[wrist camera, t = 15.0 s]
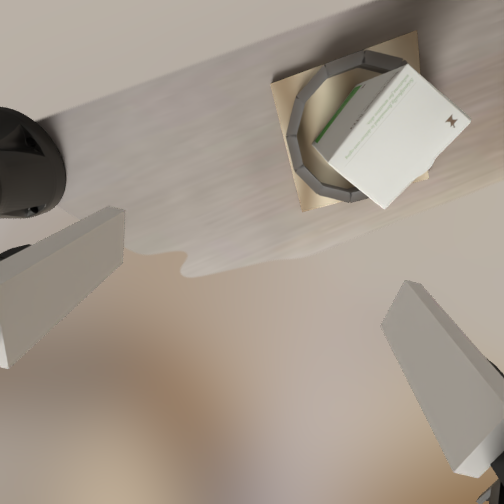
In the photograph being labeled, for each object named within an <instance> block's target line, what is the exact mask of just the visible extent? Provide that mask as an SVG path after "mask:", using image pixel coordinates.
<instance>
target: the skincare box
mask: <svg viewBox="0 0 504 504" xmlns="http://www.w3.org/2000/svg"><path fill="white" fill-rule="evenodd" d="M470 122H471V118H470V117H469V116H468V115H467V114H466V113H464V112H463V111H462V110H461V109H460V108H459V107H458V106H456V105H455V104H454V103H453V102H452V101H451V100H449V99H448V98H447V97H446V96H445V95H444V94H442V93H441V92H440V91H439V90H438V89H437V88H435V87H434V86H433V85H432V84H431V83H430V82H428V81H427V80H426V79H425V78H424V77H423V76H421V75H420V74H419V73H418V72H417V71H416V70H414V69H413V68H412V67H411V66H410V65H409V64H406V65H404V66H402V67H399V68H397V69H394V70H392V71H389V72H387V73H384V74H382V75H379V76H377V77H374V78H372V79H369V80H367V81H364V82H362V83H359V84H357V85H356V86H355V87H354V88H353V90H352V91H351V93H350V94H349V95H348V96H347V98H346V99H345V100H344V102H343V103H342V104H341V106H340V107H339V108H338V110H337V111H336V112H335V114H334V115H333V116H332V118H331V119H330V120H329V122H328V123H327V124H326V126H325V127H324V129H323V130H322V131H321V132H320V134H319V135H318V136H317V138H316V139H315V140H314V142H313V143H312V146H313V147H314V148H315V149H316V150H317V151H318V152H319V153H320V154H321V156H322V157H323V158H324V159H325V160H326V161H327V163H328V164H329V165H330V166H332V167H333V168H334V169H335V170H336V171H337V172H338V173H339V174H341V175H342V176H343V177H344V178H345V179H347V180H348V181H349V182H350V183H352V184H353V185H354V186H355V187H357V188H358V189H359V190H360V191H362V192H363V193H364V194H365V195H367V196H368V197H369V198H370V199H372V200H373V201H374V202H375V203H377V204H378V205H379V206H381V207H382V208H383V209H386V208H387V207H388V206H389V205H390V204H391V203H392V202H393V201H394V200H395V199H396V198H397V197H398V196H399V195H400V194H401V193H402V192H403V191H404V190H405V189H406V188H407V187H408V186H409V185H410V184H411V183H412V182H413V181H414V180H415V179H416V178H417V177H419V176H421V175H423V174H424V173H425V172H426V171H427V170H428V169H429V168H430V167H431V166H432V164H433V163H434V161H435V158H436V157H437V156H438V155H439V154H440V153H441V152H442V151H443V150H444V149H445V148H446V147H447V146H448V145H449V144H450V143H451V142H452V141H453V140H454V139H455V138H456V137H457V136H458V135H459V134H460V133H461V132H462V131H463V130H464V129H465V128H466V126H467V125H468V124H469V123H470Z"/></svg>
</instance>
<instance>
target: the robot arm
mask: <svg viewBox="0 0 504 504" xmlns="http://www.w3.org/2000/svg"><path fill="white" fill-rule="evenodd" d="M64 189H65V170H64V165H63V162H62V159H61V156H60V154H59V152H58V150H57V148H56V146H55V144H54V143H53V141H52V140H51V138H50V137H49V136H48V134H47V133H46V132H45V131H44V130H43V129H42V128H41V127H40V126H39V125H38V124H37V123H36V122H34V121H33V120H32V119H30V118H29V117H27V116H26V115H24V114H22V113H20V112H18V111H15V110H13V109H9V108H4V107H0V218H20V219H21V218H30V217H34V216H37V215H40V214H43V213H45V212H48V211H50V210H51V209H53V208H54V207H55V206H56V205H57V204H58V203H59V201H60V200H61V198H62V196H63V193H64ZM124 229H125V210H123V209H119V208H115V207H111V206H108V207H106V208H104V209H102V210H100V211H98V212H96V213H94V214H92V215H90V216H88V217H86V218H84V219H82V220H80V221H78V222H76V223H74V224H72V225H71V226H69V227H67V228H65V229H63V230H61V231H59V232H57V233H55V234H53V235H51V236H49V237H47V238H45V239H43V240H41V241H39V242H38V243H36V244H33V245H29V244H28V245H24V246H20V247H16V248H12V249H9V250H7V251H5V252H3V253H1V254H0V367H2V368H6V369H9V368H10V367H11V366H12V365H14V364H15V363H16V362H17V361H18V360H19V359H20V358H21V357H22V356H23V355H24V354H25V353H26V352H27V351H29V349H31V348H32V347H33V346H34V345H35V344H36V343H37V342H38V341H39V340H41V339H42V338H43V337H44V336H45V335H46V334H47V333H48V332H49V331H50V330H51V329H52V328H53V327H54V326H55V325H57V324H58V323H59V322H60V321H61V320H62V319H63V318H64V317H65V316H66V315H67V314H69V312H71V311H72V310H73V309H74V308H75V307H76V306H77V305H78V304H79V303H80V302H81V301H83V300H84V299H85V298H86V297H87V296H88V295H89V294H90V293H91V292H92V291H93V290H94V289H95V288H97V287H98V286H99V285H100V284H101V283H102V282H103V281H104V280H105V279H106V278H107V277H108V276H109V275H111V274H112V273H113V272H114V271H115V270H116V269H117V268H118V267H119V266H120V265H121V264H122V263H123V249H124ZM380 327H381V329H382V330H383V333H384V335H385V336H386V339H387V341H388V343H389V345H390V347H391V349H392V351H393V353H394V355H395V357H396V359H397V361H398V363H399V365H400V367H401V369H402V371H403V373H404V374H405V377H406V379H407V381H408V383H409V385H410V387H411V389H412V391H413V393H414V395H415V397H416V399H417V401H418V403H419V405H420V406H421V409H422V411H423V413H424V415H425V417H426V419H427V421H428V423H429V425H430V427H431V428H432V431H433V433H434V435H435V437H436V439H437V441H438V442H439V444H440V446H441V449H442V451H443V452H444V455H445V456H446V459H447V460H448V462H449V464H450V467H451V469H452V471H453V472H454V473H459V474H463V475H467V476H471V477H476V478H479V477H480V476H481V475H482V474H483V473H484V472H485V471H486V470H487V469H488V468H489V467H490V466H491V467H492V468H493V470H494V471H495V473H496V475H497V476H498V478H499V479H498V480H497V481H496V482H495V483H494V484H492V486H490V487H489V488H488V489H487V490H486V491H485V492H484V493H483V494H482V495H481V496H479V498H478V499H477V501H476V502H477V503H479V504H482V503H483V502H485V501H489V504H504V375H503V373H502V372H501V371H500V370H499V369H498V368H497V367H496V366H495V365H494V364H493V363H492V362H491V361H489V360H488V359H487V358H486V357H485V356H484V355H483V354H482V353H481V352H480V351H479V350H478V348H477V347H476V346H475V345H474V344H473V343H472V342H471V340H470V339H469V338H468V337H467V336H466V335H465V334H464V332H463V331H462V330H461V329H460V328H459V327H458V326H457V324H455V322H454V321H453V320H452V319H451V318H450V317H449V315H448V314H447V313H446V312H445V311H444V310H443V309H442V307H441V306H440V305H439V304H438V303H437V302H436V301H435V299H434V298H433V297H432V296H431V295H430V294H429V293H428V292H427V290H426V289H425V288H424V287H423V286H422V285H421V284H419V283H415V282H411V281H407V280H405V281H404V283H403V285H402V286H401V288H400V290H399V292H398V294H397V296H396V298H395V299H394V301H393V303H392V305H391V307H390V309H389V310H388V313H387V314H386V316H385V318H384V320H383V322H382V323H381V325H380Z"/></svg>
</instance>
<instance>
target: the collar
mask: <svg viewBox="0 0 504 504" xmlns="http://www.w3.org/2000/svg"><path fill="white" fill-rule="evenodd" d="M406 64H409V65H410V66H411V67H412V68H413V69H414V70H416V71H417V72H418V73H419V74H420V61H419V48H418V36H417V30H415V31H413V32H410V33H407V34H405V35H402V36H399V37H396V38H394V39H391V40H388V41H385V42H383V43H380V44H377V45H375V46H372V47H369V48H366V49H364V50H361V51H358V52H356V53H353V54H350V55H347V56H345V57H342V58H339V59H337V60H334V61H331V62H328V63H326V64H323V65H320V66H318V67H315V68H312V69H309V70H307V71H304V72H301V73H299V74H296V75H293V76H290V77H288V78H285V79H282V80H279V81H277V82H274V83H271V84H270V85H271V89H272V93H273V97H274V101H275V105H276V109H277V113H278V117H279V121H280V125H281V129H282V133H283V137H284V141H285V145H286V149H287V153H288V157H289V161H290V165H291V169H292V173H293V177H294V181H295V185H296V189H297V193H298V197H299V201H300V205H301V209H302V212H305V211H308V210H312V209H316V208H320V207H324V206H327V205H331V204H335V203H339V202H343V201H344V202H348V203H349V202H351V203H352V202H356V201H360V200H363V199H367V198H369V197H368V196H367V195H365V194H364V193H363V192H362V191H360V190H359V189H358V188H357V187H355V186H354V185H353V184H352V183H350V182H349V181H348V180H347V179H345V178H344V177H343V176H342V175H341V174H339V173H338V172H337V171H336V170H335V169H334V168H333V167H332V166H330V165H329V164H328V163H327V161H326V160H325V159H324V158H323V157H322V156H321V154H320V153H319V152H318V151H317V150H316V149H315V148H314V147H313V146H312V143H313V142H314V140H315V139H316V138H317V136H318V135H319V134H320V132H321V131H322V130H323V129H324V127H325V126H326V124H327V123H328V122H329V120H330V119H331V118H332V116H333V115H334V114H335V112H336V111H337V110H338V108H339V107H340V106H341V104H342V103H343V102H344V100H345V99H346V98H347V96H348V95H349V94H350V93H351V91H352V90H353V88H354V87H355V86H356V85H357V84H359V83H362V82H364V81H367V80H369V79H372V78H374V77H377V76H379V75H382V74H384V73H387V72H389V71H392V70H394V69H397V68H399V67H402V66H404V65H406ZM420 75H421V74H420ZM426 179H429V175H428V170H427V171H426V172H425V173H424V174H423V175H421V176H419V177H417V178H416V179H415V180H414V181H413V182H412V183H415V182H418V181H422V180H426Z"/></svg>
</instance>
